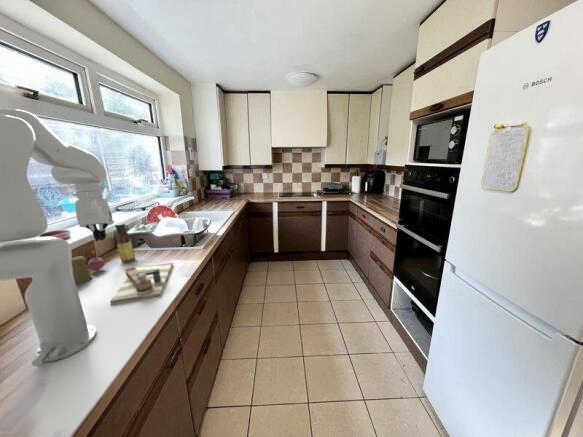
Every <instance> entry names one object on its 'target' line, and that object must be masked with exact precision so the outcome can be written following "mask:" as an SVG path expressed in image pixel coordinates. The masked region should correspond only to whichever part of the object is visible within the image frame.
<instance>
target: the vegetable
mask: <svg viewBox="0 0 583 437" xmlns="http://www.w3.org/2000/svg"><path fill="white" fill-rule="evenodd" d="M91 253H92V255H93V258H91V259H90V260H89V261H88V262H87V268H88V269H90V270H92V271H95V272H98V271H100V270H101V269H102V268H103V267H105V260H104V259H103V258H102V257H100V256H99V257H98V256H97V253H96V252H95V251H93V250H92V251H91Z"/></svg>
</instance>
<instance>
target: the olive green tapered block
mask: <svg viewBox="0 0 583 437" xmlns="http://www.w3.org/2000/svg"><path fill="white" fill-rule="evenodd" d="M86 263H87V258H86V257H85V256H83V255H82V256H81V255H79V256H75V257H72V271H73V276H74V280H75V284H76V285H82V284H86V283H88V282H91V281H92V280H93V277H92V275H91V273H90V270H89V267H88V265H87V264H86Z"/></svg>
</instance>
